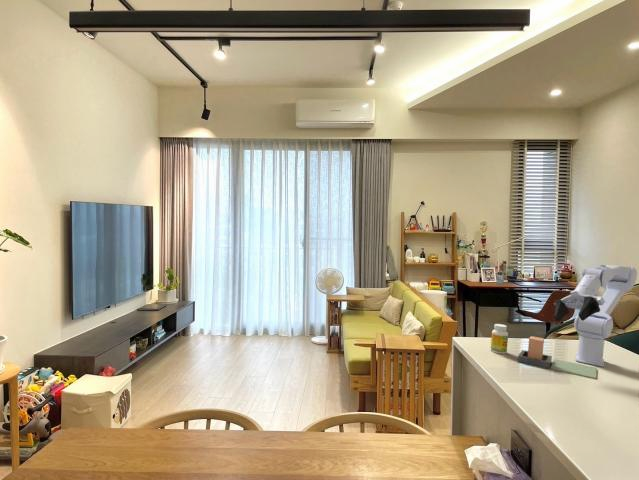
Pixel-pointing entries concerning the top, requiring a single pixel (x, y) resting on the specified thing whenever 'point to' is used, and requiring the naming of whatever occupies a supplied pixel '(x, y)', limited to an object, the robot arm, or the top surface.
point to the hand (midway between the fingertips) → (568, 318)
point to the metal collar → (535, 360)
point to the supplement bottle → (499, 339)
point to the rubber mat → (574, 368)
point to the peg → (535, 347)
